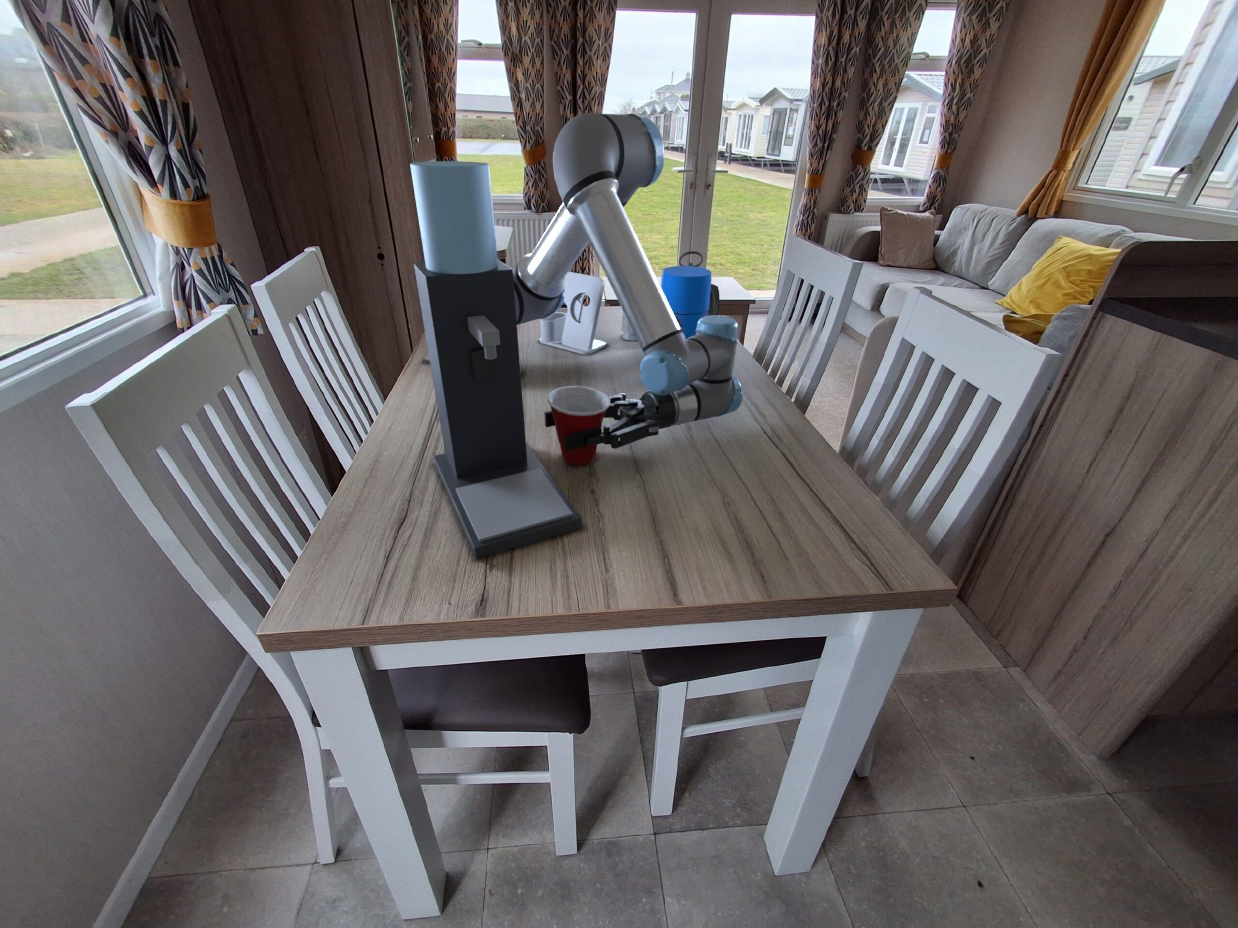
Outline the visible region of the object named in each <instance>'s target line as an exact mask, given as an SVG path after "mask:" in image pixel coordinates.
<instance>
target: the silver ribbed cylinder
mask: <svg viewBox="0 0 1238 928" xmlns="http://www.w3.org/2000/svg"><path fill="white" fill-rule="evenodd" d="M620 313H621V315H620V318H621V327H620V330H621V332H623V335H622V339H624V340H627V341H636V342H637V341H638V340H637V338H636V336H635V334H634V332H633V330H632V328H631V326H630V324H629V322H628V320H627V318H626V316H625V313H624V311H623V309H622V307H621V312H620Z"/></svg>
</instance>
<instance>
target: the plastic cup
mask: <svg viewBox="0 0 1238 928" xmlns="http://www.w3.org/2000/svg"><path fill="white" fill-rule="evenodd" d="M608 396H609V395H607V394H606V393H605V392H602V391H601V390H599V389H596V388H592V387H589V386H581V385H570V386H569V385H568V386H563V387H558V388H555V389H553V390H552V391H550V392H549V393H548V395H547V399H546V400H547V403H548V404H549V406H550V411H552V415H553V417H554V422H555V426H554V428H555V431H556V436H557V439H558V440H557V441H558V444H559V446H560V451H561V456H562V458H563V461H565V462H566V463H567V464H569V465H573V466H584V465H588V464H590V463H592V462H593V461H594V460H595V457H596V454H597V448H598V444H597V445H593V446H587V447H582V448H578V449H573V450H569V451H566V450H565V440H564V435H566V434H571V433H575V432H580V431H585V430H589V429H594V428H598V427H600V428H601V429H602V427H603V420H604V419H605V418H604V414H605V412H606V410H607V408H608V407H609V406H610V399H609V397H608Z"/></svg>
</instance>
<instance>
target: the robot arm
mask: <svg viewBox="0 0 1238 928" xmlns="http://www.w3.org/2000/svg"><path fill="white" fill-rule="evenodd" d="M665 155H666V154H665V142H664V140H663V135H662V132H661V131H660V129H659V128H658V126H657V125H656V123H654V121H652V120H651V119H650V118H648V117H646V116H643V115H637V114H635V113H626V114H620V113H598V112H586V113H580V114H578V115H575V116H574V117H573V118H571V119H569V120H568V121H567V122H566V123H565V124H564V126H563V127H562V128H561V130H560V131H559V133H558V135H557V137H556V140H555V143H554V146H553V153H552V169H553V170H552V171H553V175H554V181H555V184H556V188H557V191H558V194H559V196H560V198H561V200H562V204H561V205H560V207H559V209H558V210H557V213H556V214H555V216H554V217H553V218H552V220H551V222H550V224H549V225H548V226H547V228H546V230H545V232H543V235H542V236H541V237H540V240H539V242H538V243H537V245H536V246H535V248H534V249H533V251H532V253H529V254H528V253H527V254H525V255H523V256H522V257H521V258H520V259H519V261H518V262H517V264H516V266H515V267H514V269H512V270H513V282H514V295H515V308H516V321H517V326H518V325H522V324H525V323H528V322H529V323H530V322H532V321H536V320H540V319H543V318H546V317H549V316H550V315H552V314H554V313H557V312H559V310H560V309H561V307H562V306H563V304H564V297H565V296H564V295H563V293H564V292H565V287H564V280H565V275H566V274H567V273H568V272H570V270H571V269H572V267H573V265H574V264H575V263H576V262H577V260H578V258H580V256H581V254H582V253H583V252H584V251H585V249H586V247H587V246H588V245H589V244H590V246H591V248H592V250H593V252H594V254H595V256H596V258H597V260H598V262H599V264H600V267H601V268H602V271H603V272H604V275H605V277H606V279H607V282H608V283H609V285H610V287H611V289H612V291H613V293H614V295H615V297H616V299H617V301H618V303H619V305H620V307H621V308H622V309H623V311H624V313H625V316H626V318H627V320H628V322H629V324H630V326H631V328H632V330H633V332H634V334H635V336H636V338H637V340H636V341H637V342H638V344H639V346H640V348H641V350H642V353H643V355H644V357H643V359H642V360H641V362H640V365H639V371H640V379H641V382H642V384H643V385H644V387H645V388H646V389H647V390H646V391H645V392H644V393H643V394H642V395H641V397H640V398H639V399H628V398H627V394H626V393H624V392H621V393H618V394H614V395H613V394H612V395H607V396H608V397H609V399H610V406H609V407H608V408H607V410H606V412H605V414H604V418H603V419H613V420H614V421H616V422H613V424H611V425H609V426H608V425H607V426H606V425H602V427H601V428H600V427H598V428H594V429H589V430H585V431H580V432H575V433H571V434H566V435H564V440H565V450H566V451H569V450H573V449H578V448H582V447H587V446H593V445H597V446H598V445H601V444H603V445H605V446H606V445H607V446H609V445H610V447H611V448H612V449H613V450H616V449H619V448H621V447H624V446H627V445H629V444H632V443H634V442H637V441H640V440H642V439H644V438H647V437H655V436H658V435H659V430H663V429H667V428H671V427H675V426H681V425H683V424H688V423H693V422H698V421H703V420H706V419H711V418H718V417H722V416H724V415H729V414H731V413H733V412H736V411H737V410H738V409H739V408H740V407H741V405H742V401H743V398H744V397H743V396H744V394H743V392H742V385H741V382H740V380H738V378H737V377H735V376H734V375H733V373H734V366H735V358H736V352H737V345H738V342H739V341H738V333H739V324H738V322H737V321H736V320H735V319H734V318H732V317H729V316H726V315H719V314H718V315H709V316H704V317H702V318H700V319H699V321H698V323H697V329H696V335H694V336H692V337H689V338H687V339H686V338H685V336H684V334H683V332H682V330H681V328H680V326H679V324H678V321H677V319H676V317H675V315H674V313H673V311H672V309H671V307H670V305H669V303H668V300H667V298H666V296H665V294H664V292H663V290H662V288H661V283H660V281H659V279H658V277H657V275H656V273H655V271H654V268H653V267H652V264H651V262H650V260H649V259H648V257H647V254H646V252H645V250H644V248H643V245H642V244H641V242H640V240H639V237H638V235H637V233H636V231H635V229H634V227H633V224H632V223H631V220H630V218H629V217H628V215H627V212H626V210H625V208H624V207H625V206H627V204H628V203H629V201H630V200H631V198H632V197H633V196H634V194H635V193H636V192H637V190H638V189H640V188H647V187H650V186H651V185H653V184H654V183H655V182H656V181H657V180H658V179H659V177H660V176H661V174H662V172H663V169H664V166H665V159H666V156H665ZM521 362H522V361H521V360H520V373H521V374H522V369H521V366H522V364H521ZM421 363H424V364H428V365H430V359H426V358H422V359H421ZM544 426H545V427H546V428H551V427H555V422H554V417H553V415H552V410H548V411H544Z"/></svg>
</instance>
